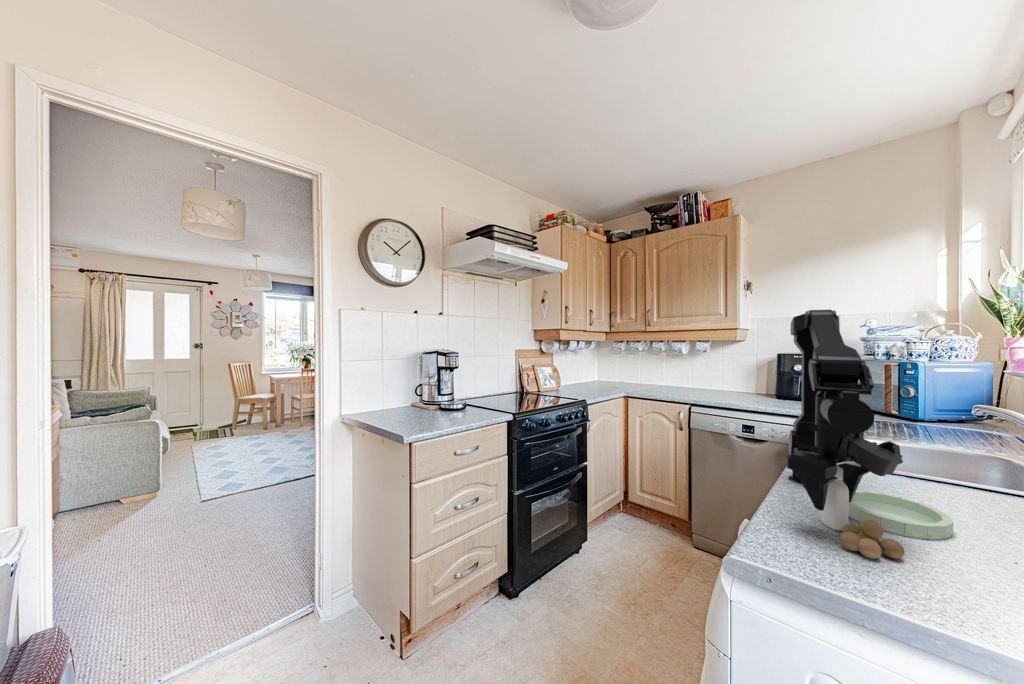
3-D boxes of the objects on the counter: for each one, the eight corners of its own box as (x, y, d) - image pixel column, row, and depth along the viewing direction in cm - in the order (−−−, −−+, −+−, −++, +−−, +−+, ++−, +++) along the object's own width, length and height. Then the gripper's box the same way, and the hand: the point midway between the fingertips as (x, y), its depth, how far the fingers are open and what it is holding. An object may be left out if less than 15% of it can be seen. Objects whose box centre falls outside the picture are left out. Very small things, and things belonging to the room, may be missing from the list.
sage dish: (822, 508, 75) (823, 497, 75) (863, 496, 81) (864, 485, 81) (927, 547, 62) (928, 533, 62) (968, 529, 68) (968, 516, 68)
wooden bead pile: (825, 542, 63) (826, 513, 63) (847, 535, 66) (847, 507, 65) (887, 569, 56) (888, 537, 56) (908, 560, 58) (909, 528, 58)
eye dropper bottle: (850, 523, 70) (851, 459, 69) (847, 534, 66) (849, 466, 65) (820, 515, 73) (821, 454, 73) (815, 525, 69) (817, 460, 69)
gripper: (861, 437, 58) (859, 537, 58) (921, 426, 65) (919, 515, 65) (785, 422, 68) (783, 507, 68) (844, 414, 75) (842, 491, 76)
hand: (833, 505), depth 69 cm, fingers closed on eye dropper bottle, 8 cm apart
